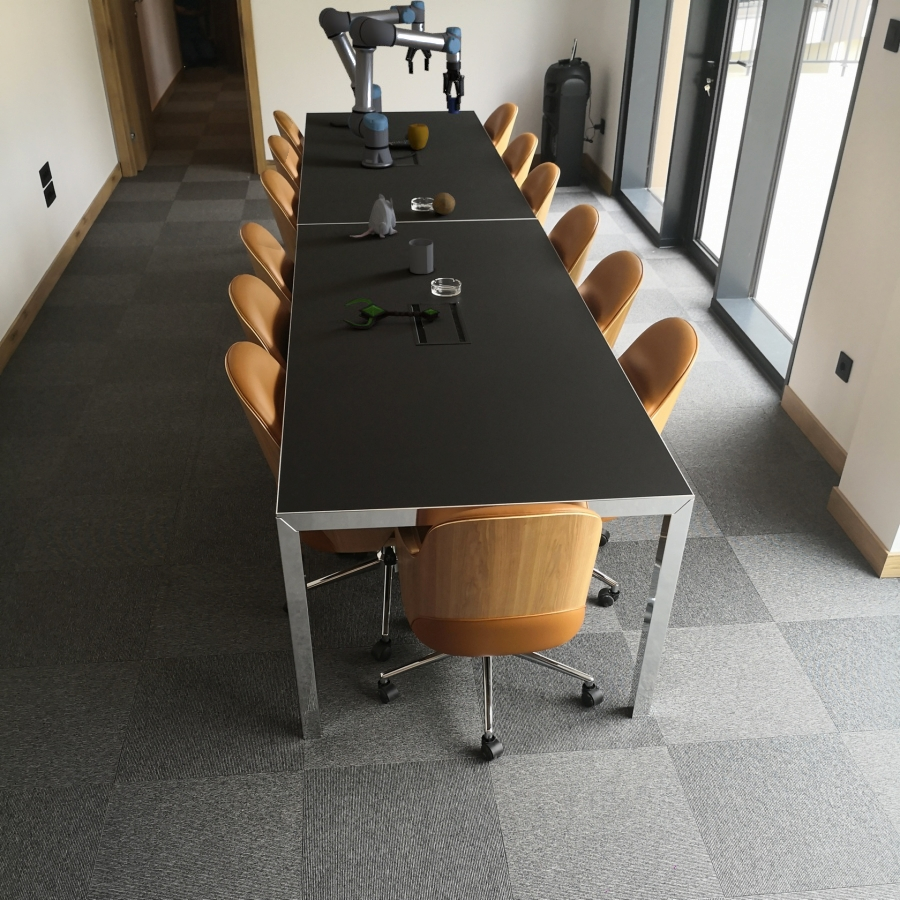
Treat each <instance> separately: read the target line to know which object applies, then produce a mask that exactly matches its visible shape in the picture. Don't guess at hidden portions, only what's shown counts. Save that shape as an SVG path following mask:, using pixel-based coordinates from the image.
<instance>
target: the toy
mask: <svg viewBox="0 0 900 900" xmlns="http://www.w3.org/2000/svg"><path fill="white" fill-rule="evenodd" d="M396 222H397V219H396V215H395V211H394V202H393V199H392V197H390V200H387V199H385V196H384V195H383V194H382V193H379V194H378V199H376V200H375V201H374V203H373V206H372V208H371V212H370V217H369V219H368V223H367V224H368V225H367V226H368V229H367V231H365V232H363V233H362V234H358V235H350V238H351V237H352V238H363V237H365V236H367V235H369V234H370V235H375V234H377V235H379V238H382V239H385V238H386V236H385V235H387V234H388V235H394V234H397V233H398V231H397V230H396V229H394V228H395V227H396V225H397V224H396Z"/></svg>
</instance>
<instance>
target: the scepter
mask: <svg viewBox="0 0 900 900" xmlns="http://www.w3.org/2000/svg"><path fill="white" fill-rule="evenodd" d="M362 302H363V303H367V304H368V305H366V306H365V307H362V308H360V309H358V312H360V313H359V314H358V317H360V318H362V319H364V320H366V321H368V322H367V323H366V324H357V323H355V322H352V321H349V320H347V319H343V320H342V321H343V322H345V323H346V324H348V325H349V326H351V327H352V328H354V329H361V330H362V329H363V330H368V329H369V330H370V329H371V328H372V327H373V325H374V324H375V323H377V322H379V321H381V320H383V319H385V318H388V317H401V318H403V317H408V318H412V317H414V318H422V319H425V320H426V321H429V322H432V321H434V320H437V319H440V317H441V316H439V314H440V313H441V311H439V310H437V309H434V308H433V307H429V308H427V309H425V310H422V311H410V310H409V311H406V310H405V311H404V310H403V311H399V310H394V311H391V310H390V311H389V310H387V309H386V308H384V307H382V306H380V305H378V304H376V303H375V302H374V300H372V298H368V297H357V298H354V299H352V300H350V301H349V302H347V303H344V304H343V306H344V307H346V306H349V305H353V304H356V303H362Z"/></svg>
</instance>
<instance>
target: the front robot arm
mask: <svg viewBox="0 0 900 900" xmlns="http://www.w3.org/2000/svg"><path fill="white" fill-rule="evenodd" d="M348 35H349V37H350V39H351V46H352V48H353V50H354V53H355V97H354V105H353V106H352V107H351V113H350V115H349V116H348V120H347V125H349V127H348V128H349V130H350V131H351V133H352V134H354V135H355V136H356V137H359V138H362V139H363V140H364V151H363V155H362V159H361V166H362V167H363V168H366V169H371V170H381V169H387V168H390V167H392V166H394V160H400V159H406V158H411V157H412V156H414V155H415V154H416V153H415V152H413V153H411V154H409V155H404V156H398V157H397V156H392V155H391V152H390V151H391V150H390V147H389V145H390V144H389V122H388V118H387V116H386V115H385V114H383V113H382V114H378V113H376V109H375V108H374V107H373V84H374V52H375V51H376V50H377V47H386V48H387V47H388V48H393V47H394V46H397V47H405V48H408V47H411V48H414V49H415V48H418V49H424V50H430V51H432V52H439V53H444V54H445V60H446V61H445V67H446V68H445V69H446V72H442V79H443V80H442V83H443V85H442V93H443V94H444V95H445V101H446V110H448V98H450V97H452V87H453V84H454V89H455V94H456V96H455V97H456V111H458V110H459V111H461V104H462V97H464V96H465V78H466V77H465V75H464V74H461V69H462V62H461V60H462V29H461V27H458V26H448V27H446V28H445V32H426V31H424V32H421V31H415V30H411V29H409V28H401V27H397V26H396V24H394V25H393V24H388V23H385V22H382V21H380V20H377V19H374V18H370V17H367V16H358V17H355V18H354V19H353V20H352V21H351V23H350V25H349V32H348Z"/></svg>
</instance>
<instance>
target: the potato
mask: <svg viewBox="0 0 900 900" xmlns="http://www.w3.org/2000/svg"><path fill="white" fill-rule="evenodd" d="M455 206H456V200H455V198H454V196H452V195H451V194H449V193H448V192H439V193H437V194H436V195H435V197H434V198H433V200H432V201H431V207H432V209H433V210H434V212H436V213H437V214H439V215H441V216H442V215H449V214H450V213H452V212H453V211H454V209H455Z"/></svg>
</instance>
